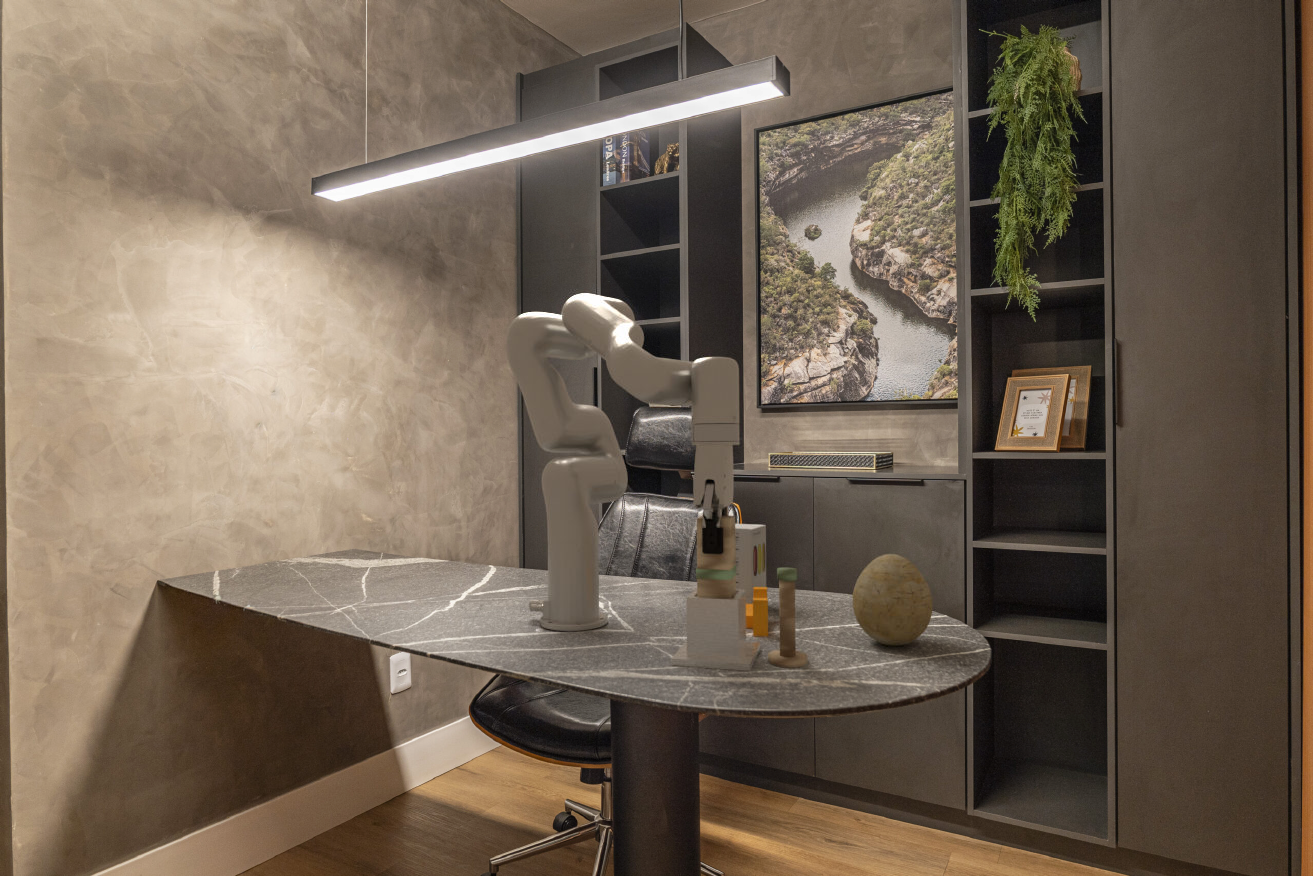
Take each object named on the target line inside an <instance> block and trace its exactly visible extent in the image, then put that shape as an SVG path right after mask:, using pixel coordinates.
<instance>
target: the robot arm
mask: <svg viewBox="0 0 1313 876" xmlns="http://www.w3.org/2000/svg"><path fill="white" fill-rule="evenodd" d="M644 335H645V334H644V331H643V329H642V326H641V325H640V324H639V323H637V322H636V319H635V314H634V312H633V310H632V308H631V307H630V306H629V305H628V304H627V303H626V302H624V301H623V300H621V299H618V298H613V297H607V296H603V295H597V294H593V293H578V294H575V295H573V296H571V297H570V298H568V299H567V300H566V301H565V303H564V304H563V306H562V309H561V314H556V313H550V312H543V311H531V312H525V313H522V314H519V315H518V316H516V317H515V318H514V319H513V321H511V323H510V325H509V328H508V331H507V334H506V341H505V347H506V348H505V349H506V357H507V360H508V361H507V362H508V364H509V367H510V369H511V372H512V374H513V376H514V378H515V380H516V382H517V384H518V387H519V389H520V391H521V395H522V397H523V400H524V405H525V408H526V411H527V414H528V417H529V421H530V424H531V427H532V430H533V433H534V436H535V438H536V442H537V443H538V445H539V447H540V449H542V450H543V451H545V452H548V453H555V454H558V453H560V454H564V455H561V456H557V457H554V458H553V459H551V460H550V461H549V462H548V463H547V464H546V465H545V467H544V468H543V471H542V474H541V489H542V494H543V499H544V505H545V511H546V523H547V524H546V525H547V529H546V530H547V598H545V599H543V600H542V599H534V598H532V599H530V600H529V604H528V607H529V610H530V612H540V613H542V616H541V617H539V625H540V627H542V628H544V629H547V630H552V631H557V632H559V631H562V632H579V631H581V632H582V631H588V630H594V629H599V628H601V627H603V626H605V625H607V623H608V615H607V614H606V613H603V612H602V611H600V577H599V576H600V574H599V573H600V568H599V567H600V566H599V561H600V559H599V558H600V556H599V555H600V553H599V551H600V550H599V546H600V545H599V542H600V541H599V539H600V538H599V525H598V522H597V519H596V517H595V515H594V512H593V511H592V509H591V506H590V505H597V504H606V503H612V502H615V501H617V500H619V499H620V498H621V497H623V495H624V494H625V492H626V490H627V487H628V481H629V480H628V471H627V467H626V464H625V460H624V457H623V455H622V452H621V449H620V445H619V442H618V439H617V437H616V434H615V430H614V427H613V425H612V423H611V421H610V419H609V417H608V415H607V414H606V413H605V412H604V411H603V410H601V409H600V408H599V407H597V406H595V405H591V404H578V403H577V404H576V403H574V402H573V401H572V399H571V397H570V395H569V393H568V389H567V386H566V383H565V381H564V378H563V377H562V375H561V374H560V372H559V371H558V370H557V369H556V368H555V366H554V365H552V364H551V363H550V361H549V360H548V358H553V359H563V360H564V359H565V360H573V361H577V360H578V361H579V360H584V359H589V358H590V357H593V356H595V355H598V356H599V357H601V358H602V359H603V360H604V361H605V363H606V368H607V370H608V372H609V373H608V374H609V376H610V377H611V379H612V380H613V381H614V382H615V383H616V384H617V385H618V386H620V387H621V388H622V389H623V390H624V391H626V392H627V393H629V394H630V395H631V396H633V397H634V398H635V399H637V400H639V401H641V402H643V403H645V404H649V405H654V406H655V405H656V406H657V405H660V406H674V407H675V406H676V407H691V446H696V447H695V453H694V454H695V455H694V470H693V471H694V472H693V473H694V474H693V496H692V497H693V498H692V499H693V501H692V502H693V507H695V509H701V508H702V516H703V522H702V526H703V528H702V552H703V553H704V554H722V553H723V528H721V519H722V516H730V511H729V506H730V505H731V504H733V501H734V451H733V450H734V447H733V446H740V368H739V367H740V366H739V364H738V362H737V360H736V359H733V358H731V357H727V356H726V357H725V356H708V357H707V356H706V357H701V358H697V359H695V360H694V361H691V360H689V361H688V360H680V359H672V358H665V357H657V356H654V355H653V354H651V353H650V352H648V351H647V350H645V349H644V348H643V346H644V341H645V336H644ZM566 453H567V454H566ZM568 453H571V454H568ZM572 453H573V454H572ZM574 453H580V454H574ZM565 454H566V455H565ZM716 515H717V516H716Z"/></svg>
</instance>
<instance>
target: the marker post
mask: <svg viewBox="0 0 1313 876" xmlns="http://www.w3.org/2000/svg"><path fill="white" fill-rule="evenodd" d="M776 579H777V580H778V585H779V586H778V587H779V588H778V591H779V592H778V595H779V596H778V597H779V600H778V601H779V603H778V604H779V612H778V613H779V617H778V618H779V649H776V650H772V651H769V652H768V653H767V663H769V664H770V665H773V666H776V667H780V668H790V669H791V668H801V667H804V666H806V665H807V664H808V663H809V662H808V660H809V659H808V654H807V653H805V652H803V651H800V650H796V648H797V647H796V645H797V644H796V581H797V579H798V569H797V568H794V567H778V568H776Z"/></svg>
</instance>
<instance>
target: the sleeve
mask: <svg viewBox="0 0 1313 876" xmlns="http://www.w3.org/2000/svg"><path fill="white" fill-rule="evenodd" d="M760 650H761V642H752V641H747V628H746V590H742V589H736V595H735V597H734V598H714V597H697V587H696V588H695V589H694V590H693V591H692V592H690V594H689V595H687V596H686V641H685V642H684V643H683V644H682V645H681V646H680V648H679V649H678V651H676V652H675V654H674V655H673V656H672V657H671V660H670V662H671V663H670V664H671V665H670V666H676V667H677V666H678V667H693V668H707V669H719V670H731V671H732V670H733V671H747V672H748V671H751V670H752V667H753V665H754V663H755V661H756V659H757V657H758V654H759V653H760Z"/></svg>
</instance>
